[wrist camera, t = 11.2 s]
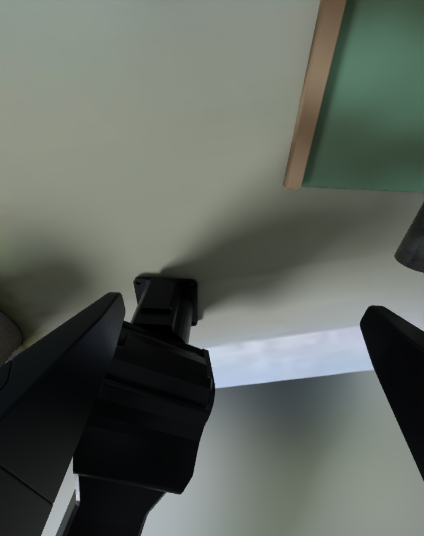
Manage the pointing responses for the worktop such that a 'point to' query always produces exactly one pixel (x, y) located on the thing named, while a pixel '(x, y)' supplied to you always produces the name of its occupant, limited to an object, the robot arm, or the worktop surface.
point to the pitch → (362, 99)
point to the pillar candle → (8, 338)
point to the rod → (413, 244)
